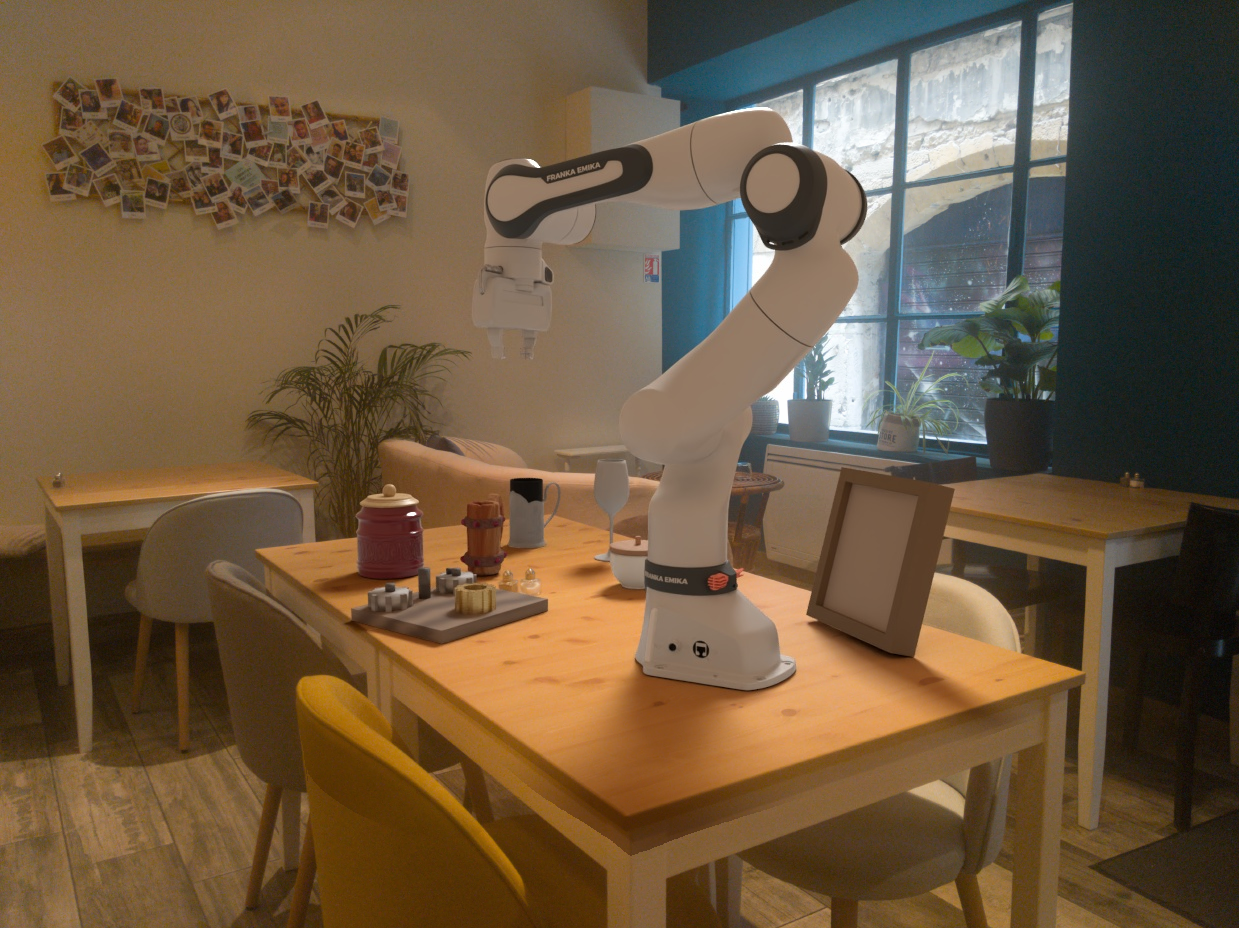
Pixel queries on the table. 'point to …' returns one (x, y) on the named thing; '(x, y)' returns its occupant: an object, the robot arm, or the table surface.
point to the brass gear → (475, 598)
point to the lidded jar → (629, 562)
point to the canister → (389, 535)
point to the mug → (484, 536)
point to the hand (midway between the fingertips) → (513, 359)
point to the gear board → (440, 608)
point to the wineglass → (611, 491)
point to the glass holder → (528, 512)
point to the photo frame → (880, 558)
